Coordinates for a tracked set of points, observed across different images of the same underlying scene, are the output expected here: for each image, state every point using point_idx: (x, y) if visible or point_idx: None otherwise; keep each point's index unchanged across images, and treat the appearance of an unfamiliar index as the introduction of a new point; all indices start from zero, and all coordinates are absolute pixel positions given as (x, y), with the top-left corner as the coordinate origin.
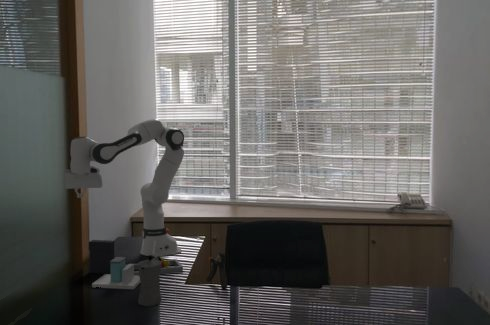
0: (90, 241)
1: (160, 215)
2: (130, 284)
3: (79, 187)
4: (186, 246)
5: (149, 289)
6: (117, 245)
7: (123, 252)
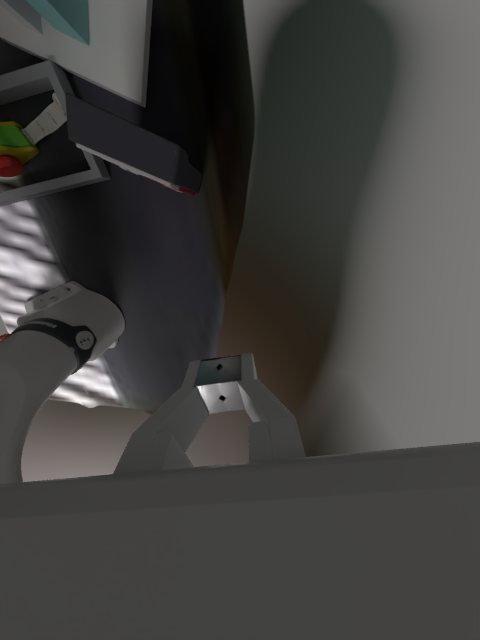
0: (171, 145)
1: None
2: None
3: (210, 483)
4: None
5: None
6: None
7: (163, 328)
